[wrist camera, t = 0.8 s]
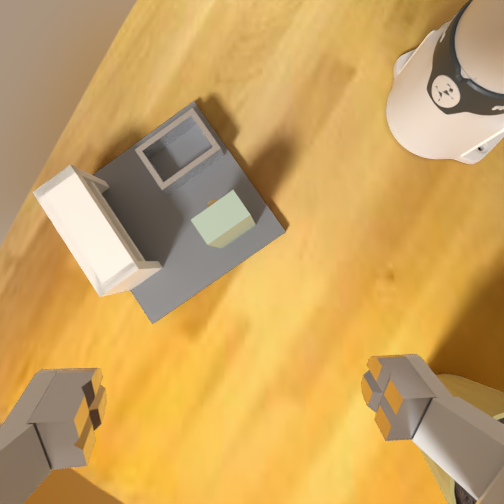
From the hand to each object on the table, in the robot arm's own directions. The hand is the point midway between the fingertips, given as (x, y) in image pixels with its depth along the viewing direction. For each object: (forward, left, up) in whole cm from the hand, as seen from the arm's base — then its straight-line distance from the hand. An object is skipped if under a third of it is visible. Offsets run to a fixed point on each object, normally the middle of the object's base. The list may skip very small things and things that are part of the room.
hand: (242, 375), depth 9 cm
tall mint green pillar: (-1, -10, -35) cm, 36 cm away
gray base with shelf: (+5, -17, -36) cm, 40 cm away
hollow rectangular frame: (-1, -23, -35) cm, 42 cm away
